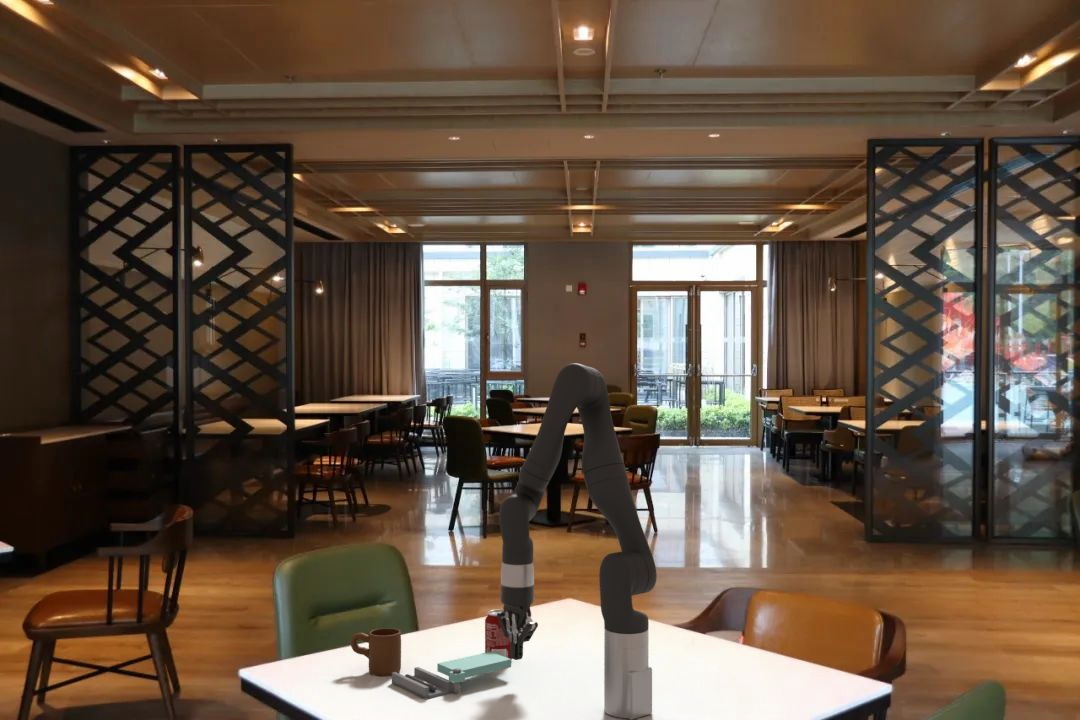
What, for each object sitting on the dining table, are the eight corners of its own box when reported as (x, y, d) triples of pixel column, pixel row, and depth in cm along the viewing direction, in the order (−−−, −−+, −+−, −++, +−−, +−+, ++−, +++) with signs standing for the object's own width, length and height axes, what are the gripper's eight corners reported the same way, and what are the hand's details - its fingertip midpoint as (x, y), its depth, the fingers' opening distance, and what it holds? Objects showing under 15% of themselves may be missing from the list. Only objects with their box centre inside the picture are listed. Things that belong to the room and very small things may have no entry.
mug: (346, 676, 225) (347, 636, 225) (353, 666, 233) (353, 627, 233) (398, 676, 225) (398, 636, 225) (403, 667, 232) (403, 627, 233)
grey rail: (461, 692, 213) (461, 681, 213) (428, 701, 208) (428, 689, 208) (423, 676, 225) (423, 665, 225) (391, 683, 220) (391, 672, 220)
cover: (455, 683, 212) (455, 672, 212) (431, 672, 219) (431, 662, 219) (515, 668, 222) (515, 658, 222) (490, 659, 230) (490, 649, 230)
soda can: (509, 666, 233) (509, 616, 233) (482, 664, 234) (482, 615, 235) (514, 658, 240) (514, 609, 240) (488, 656, 241) (488, 608, 241)
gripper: (548, 585, 215) (547, 663, 215) (513, 574, 226) (512, 648, 226) (521, 589, 211) (520, 669, 211) (487, 578, 221) (486, 654, 221)
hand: (516, 658), depth 218 cm, fingers closed
